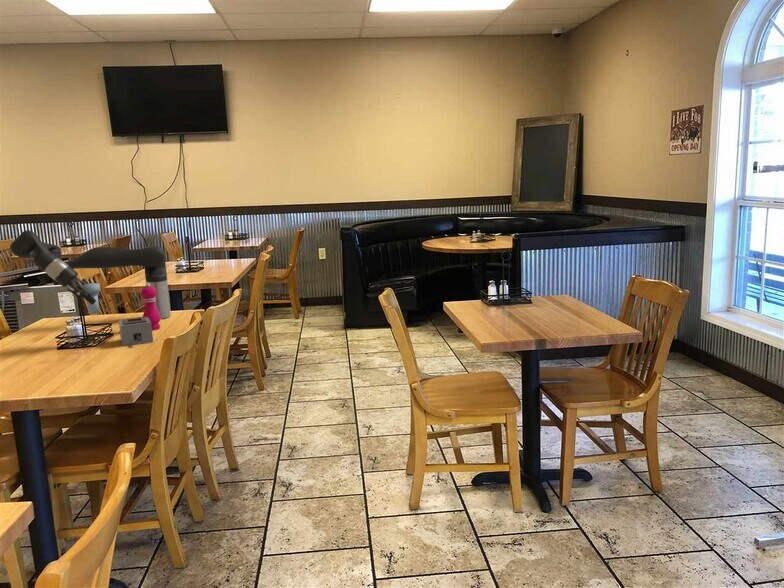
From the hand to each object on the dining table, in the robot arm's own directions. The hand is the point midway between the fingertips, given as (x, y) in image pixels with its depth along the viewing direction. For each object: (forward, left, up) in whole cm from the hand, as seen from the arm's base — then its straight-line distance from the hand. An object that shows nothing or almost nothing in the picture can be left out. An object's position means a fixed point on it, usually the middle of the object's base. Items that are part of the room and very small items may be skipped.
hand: (97, 300), depth 247 cm
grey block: (+5, +12, -17) cm, 22 cm away
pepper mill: (-13, +20, -17) cm, 29 cm away
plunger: (+11, +12, -15) cm, 22 cm away
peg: (-1, -2, -5) cm, 5 cm away
